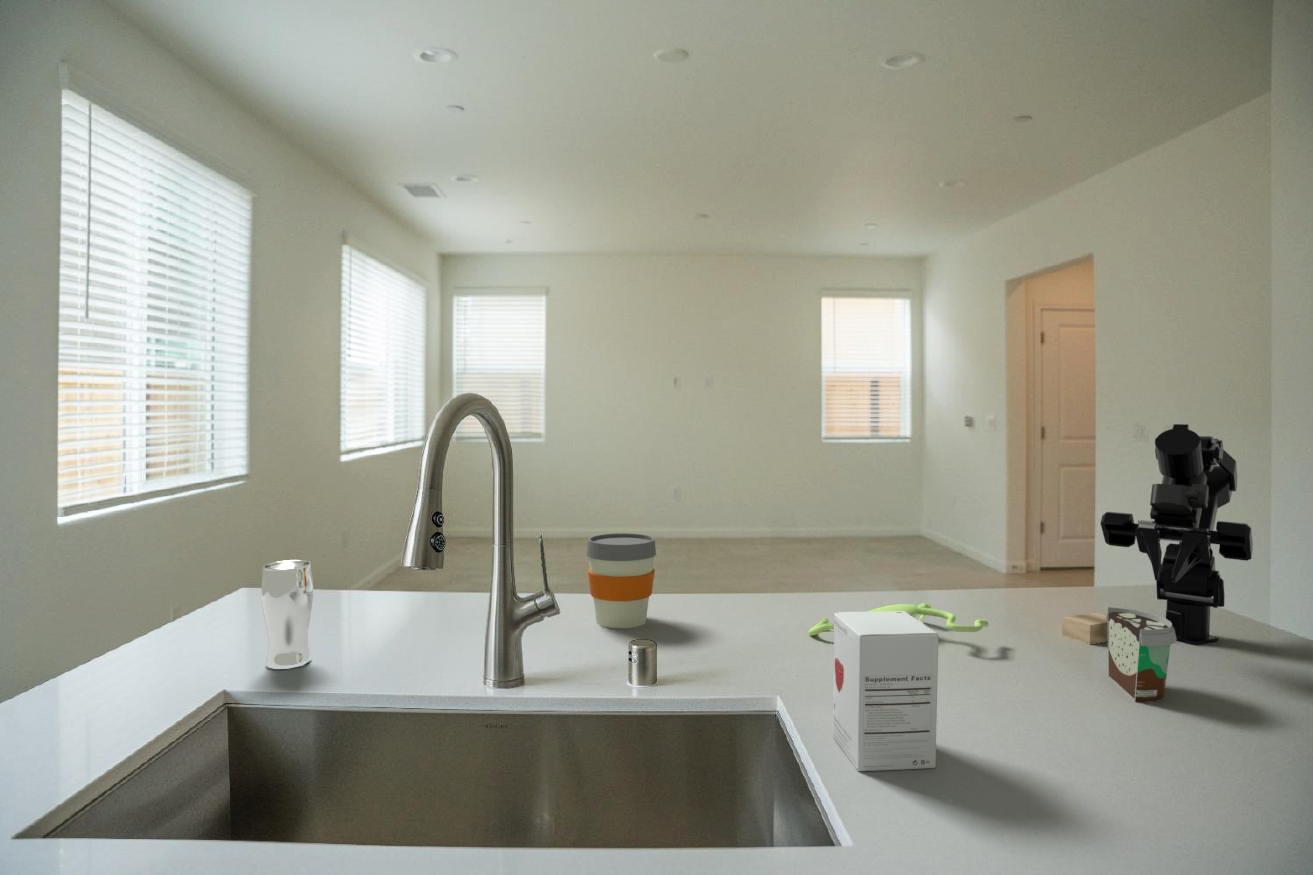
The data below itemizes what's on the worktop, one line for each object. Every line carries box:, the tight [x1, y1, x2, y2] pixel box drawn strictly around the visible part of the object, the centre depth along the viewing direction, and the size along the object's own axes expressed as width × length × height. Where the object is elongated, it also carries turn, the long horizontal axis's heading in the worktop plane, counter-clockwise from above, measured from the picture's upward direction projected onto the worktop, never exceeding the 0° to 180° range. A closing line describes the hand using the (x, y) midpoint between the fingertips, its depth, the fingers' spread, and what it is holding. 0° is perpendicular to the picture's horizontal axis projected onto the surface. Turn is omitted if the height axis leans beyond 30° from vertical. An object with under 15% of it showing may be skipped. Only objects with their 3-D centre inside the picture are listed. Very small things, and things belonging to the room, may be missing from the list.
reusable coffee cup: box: [586, 532, 657, 629], centre depth 137 cm, size 13×13×15 cm
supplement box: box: [832, 611, 939, 772], centre depth 85 cm, size 9×9×15 cm
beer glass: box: [260, 559, 314, 666], centre depth 114 cm, size 7×7×15 cm
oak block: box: [1061, 612, 1108, 646], centre depth 129 cm, size 8×5×4 cm, turn 114°
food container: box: [1106, 606, 1178, 703], centre depth 104 cm, size 12×6×10 cm, turn 168°
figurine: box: [808, 602, 989, 637], centre depth 126 cm, size 18×27×6 cm
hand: (1164, 579), depth 112 cm, fingers closed
